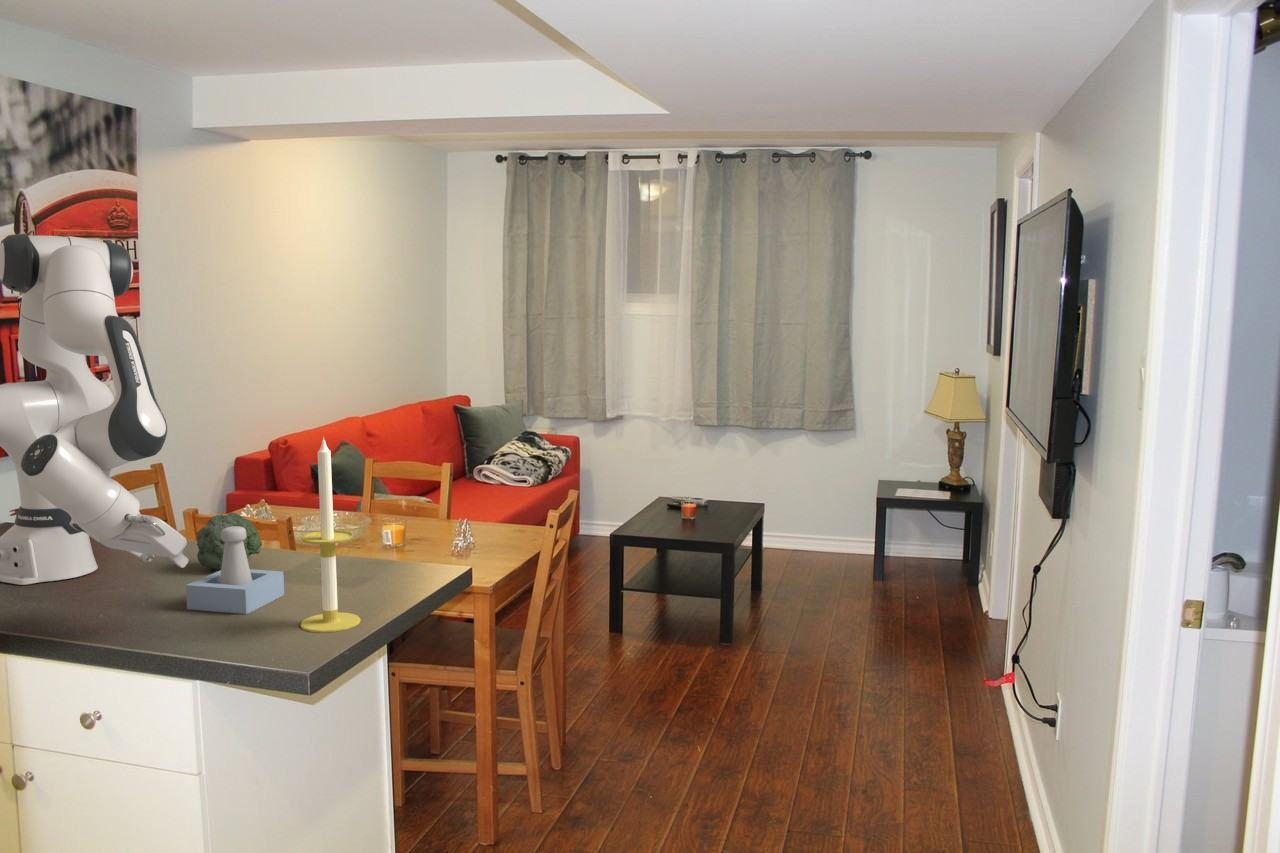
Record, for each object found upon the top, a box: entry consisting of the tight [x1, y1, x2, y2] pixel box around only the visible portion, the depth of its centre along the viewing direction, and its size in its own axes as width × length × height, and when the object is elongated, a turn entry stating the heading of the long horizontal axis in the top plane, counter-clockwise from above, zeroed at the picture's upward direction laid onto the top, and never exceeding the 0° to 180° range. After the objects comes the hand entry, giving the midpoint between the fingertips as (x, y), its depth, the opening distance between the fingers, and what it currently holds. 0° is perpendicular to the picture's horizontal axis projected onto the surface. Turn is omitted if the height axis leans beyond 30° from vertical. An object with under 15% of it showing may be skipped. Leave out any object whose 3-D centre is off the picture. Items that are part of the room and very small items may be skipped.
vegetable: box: [196, 512, 263, 572], centre depth 213 cm, size 12×13×15 cm
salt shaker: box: [219, 526, 253, 586], centre depth 188 cm, size 6×6×13 cm
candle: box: [300, 436, 361, 634], centre depth 175 cm, size 10×10×32 cm
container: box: [185, 568, 285, 615], centre depth 189 cm, size 12×12×4 cm
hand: (167, 561), depth 179 cm, fingers open, 8 cm apart
